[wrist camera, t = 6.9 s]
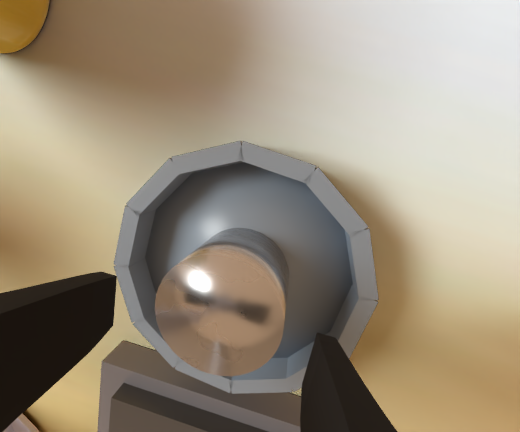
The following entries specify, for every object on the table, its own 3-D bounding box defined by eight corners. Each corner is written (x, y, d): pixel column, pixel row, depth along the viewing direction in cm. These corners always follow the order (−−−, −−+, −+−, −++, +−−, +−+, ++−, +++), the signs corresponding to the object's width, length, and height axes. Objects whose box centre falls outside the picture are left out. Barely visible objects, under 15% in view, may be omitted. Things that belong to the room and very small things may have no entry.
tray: (239, 393, 16) (229, 429, 14) (105, 246, 15) (73, 259, 13) (414, 284, 13) (437, 308, 10) (254, 94, 12) (243, 78, 10)
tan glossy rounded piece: (239, 332, 14) (215, 396, 10) (178, 266, 14) (130, 305, 10) (309, 281, 13) (313, 332, 9) (244, 207, 12) (218, 226, 9)
